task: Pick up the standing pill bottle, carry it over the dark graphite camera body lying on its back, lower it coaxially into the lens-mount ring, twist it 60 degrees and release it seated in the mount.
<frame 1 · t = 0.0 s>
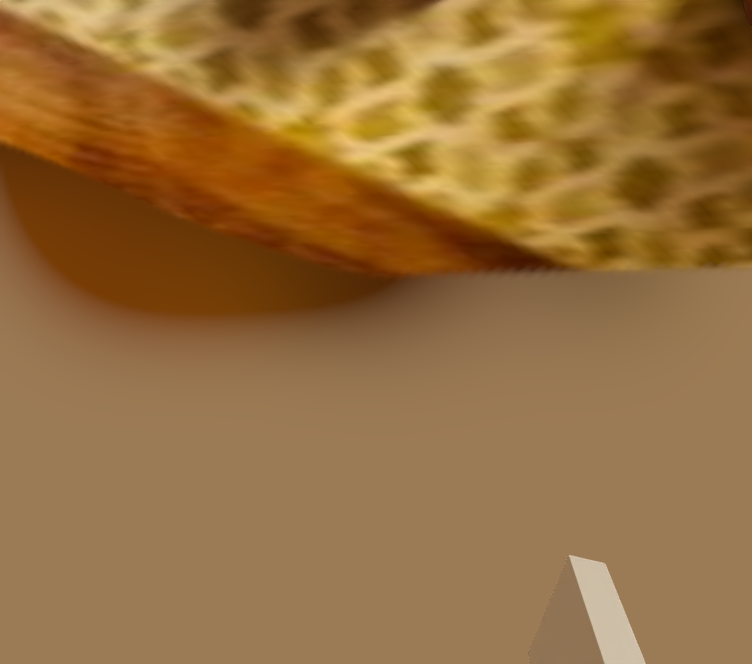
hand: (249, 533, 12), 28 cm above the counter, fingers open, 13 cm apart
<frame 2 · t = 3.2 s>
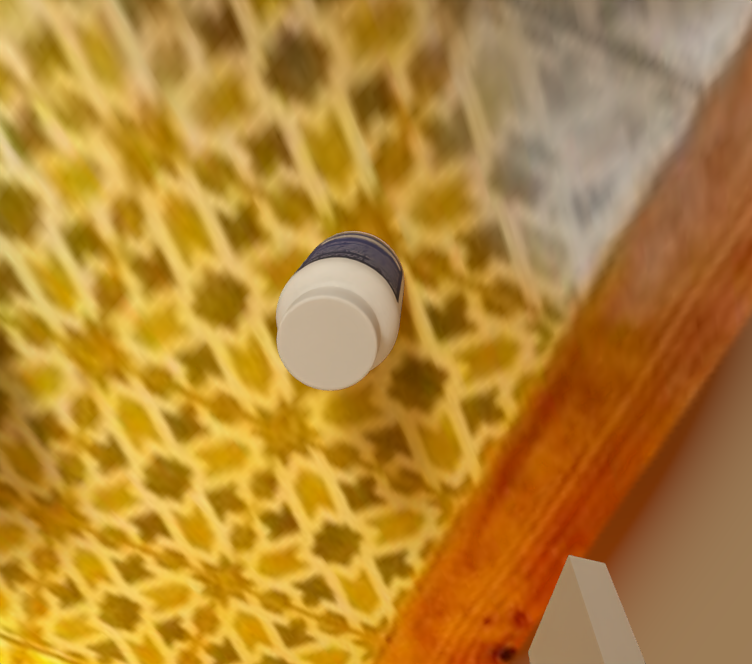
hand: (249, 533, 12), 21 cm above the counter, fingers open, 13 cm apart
pill bottle: (355, 278, 32), on the counter
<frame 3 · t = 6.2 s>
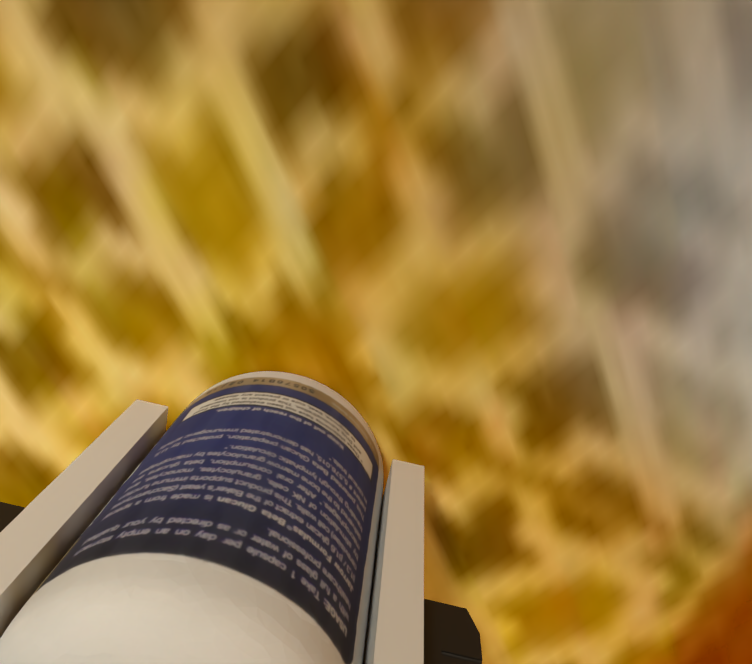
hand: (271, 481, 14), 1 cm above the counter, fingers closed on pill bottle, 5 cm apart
pill bottle: (281, 458, 15), on the counter, touching gripper
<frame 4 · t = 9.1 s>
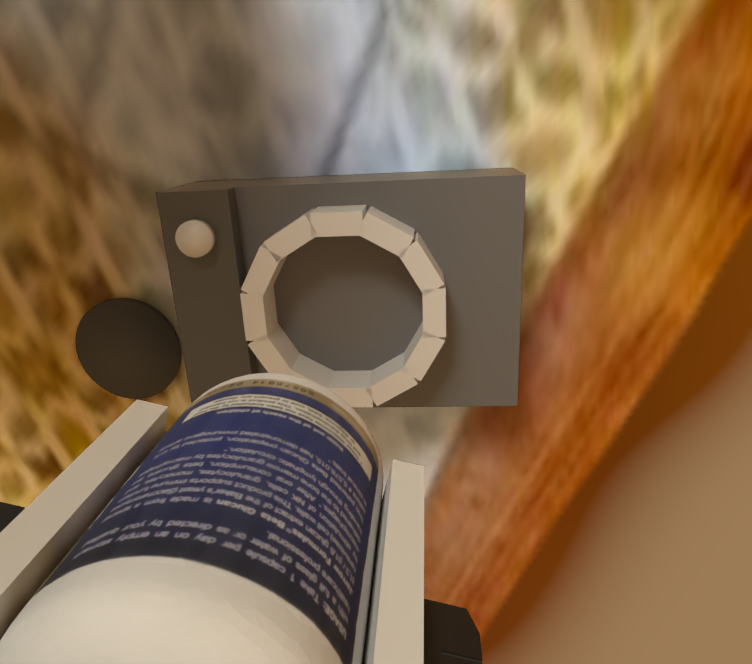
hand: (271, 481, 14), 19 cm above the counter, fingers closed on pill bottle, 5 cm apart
lens cap: (133, 345, 34), on the counter
camera body: (357, 280, 32), on the counter
pill bottle: (280, 460, 15), point 18 cm above the counter, touching gripper
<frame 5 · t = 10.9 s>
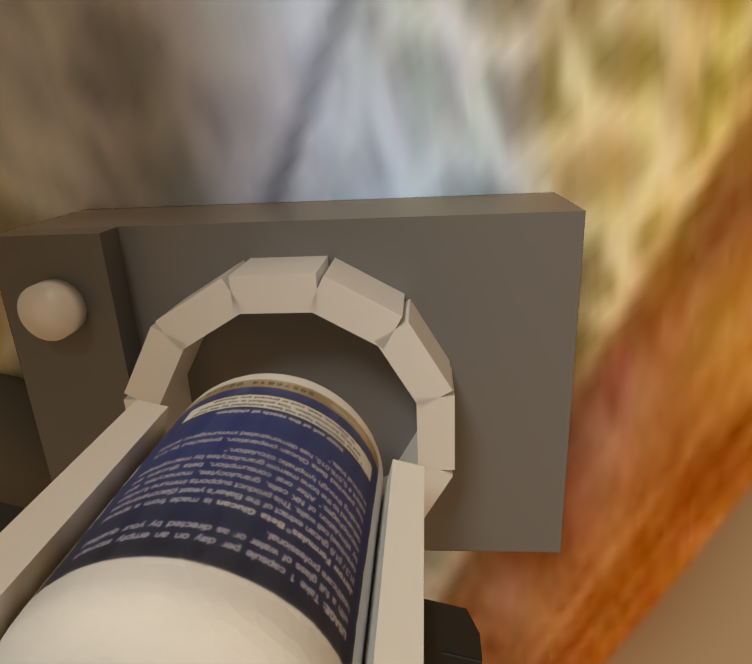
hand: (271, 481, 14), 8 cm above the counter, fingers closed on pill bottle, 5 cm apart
lens cap: (13, 435, 25), on the counter
camera body: (323, 352, 22), on the counter
pill bottle: (280, 460, 15), point 7 cm above the counter, touching gripper
when the fingers open (7 cm above the counter, at t = 12.5 s): pill bottle drops 2 cm, resting on camera body.
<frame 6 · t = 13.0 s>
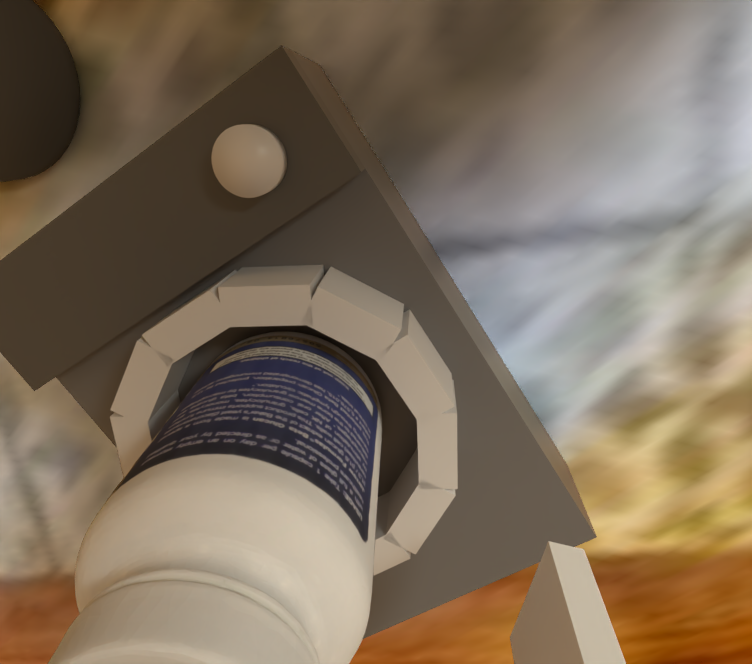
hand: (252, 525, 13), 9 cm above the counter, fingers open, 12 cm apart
camera body: (321, 363, 21), on the counter
pill bottle: (291, 410, 17), point 4 cm above the counter, touching camera body
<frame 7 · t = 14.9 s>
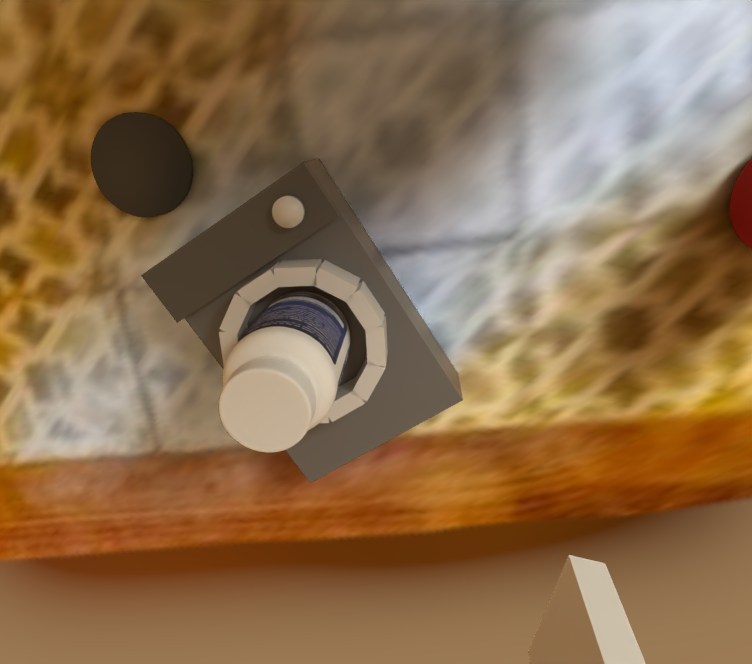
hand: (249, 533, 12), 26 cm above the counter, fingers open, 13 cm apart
lens cap: (146, 165, 36), on the counter
camera body: (319, 316, 38), on the counter
pill bottle: (305, 333, 34), point 4 cm above the counter, touching camera body
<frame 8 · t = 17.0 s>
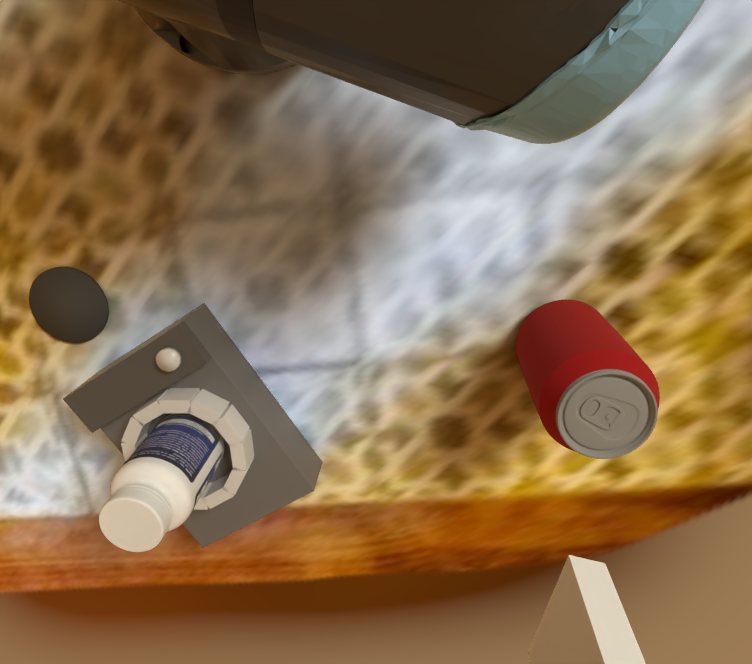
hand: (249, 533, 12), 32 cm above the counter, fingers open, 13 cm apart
beverage can: (559, 338, 44), on the counter
lens cap: (73, 303, 46), on the counter
camera body: (212, 417, 48), on the counter
pill bottle: (191, 439, 44), point 4 cm above the counter, touching camera body
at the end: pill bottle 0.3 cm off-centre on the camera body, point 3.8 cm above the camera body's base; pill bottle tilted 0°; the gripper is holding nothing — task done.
